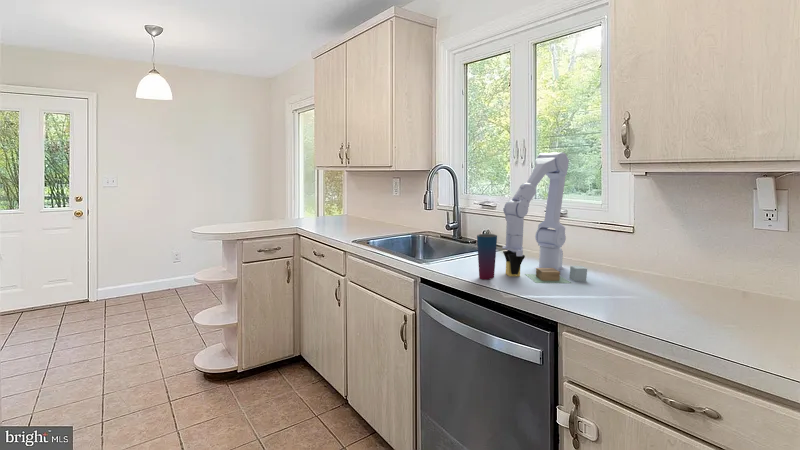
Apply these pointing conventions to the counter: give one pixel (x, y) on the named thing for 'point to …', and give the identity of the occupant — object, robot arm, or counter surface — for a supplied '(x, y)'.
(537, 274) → the base brick
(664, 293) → the counter surface
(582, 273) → the brick
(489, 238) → the cup
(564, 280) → the baseplate
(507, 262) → the mustard brick
